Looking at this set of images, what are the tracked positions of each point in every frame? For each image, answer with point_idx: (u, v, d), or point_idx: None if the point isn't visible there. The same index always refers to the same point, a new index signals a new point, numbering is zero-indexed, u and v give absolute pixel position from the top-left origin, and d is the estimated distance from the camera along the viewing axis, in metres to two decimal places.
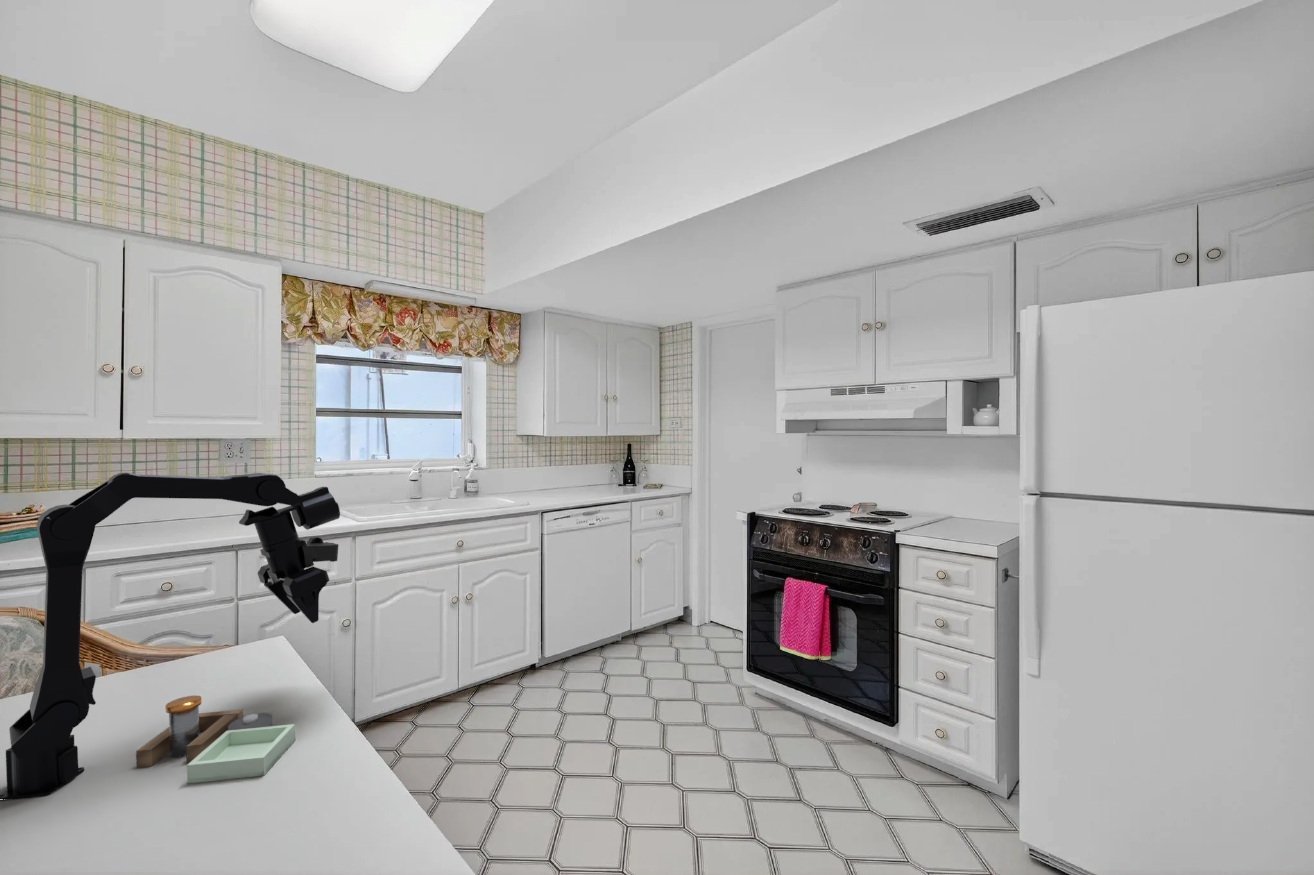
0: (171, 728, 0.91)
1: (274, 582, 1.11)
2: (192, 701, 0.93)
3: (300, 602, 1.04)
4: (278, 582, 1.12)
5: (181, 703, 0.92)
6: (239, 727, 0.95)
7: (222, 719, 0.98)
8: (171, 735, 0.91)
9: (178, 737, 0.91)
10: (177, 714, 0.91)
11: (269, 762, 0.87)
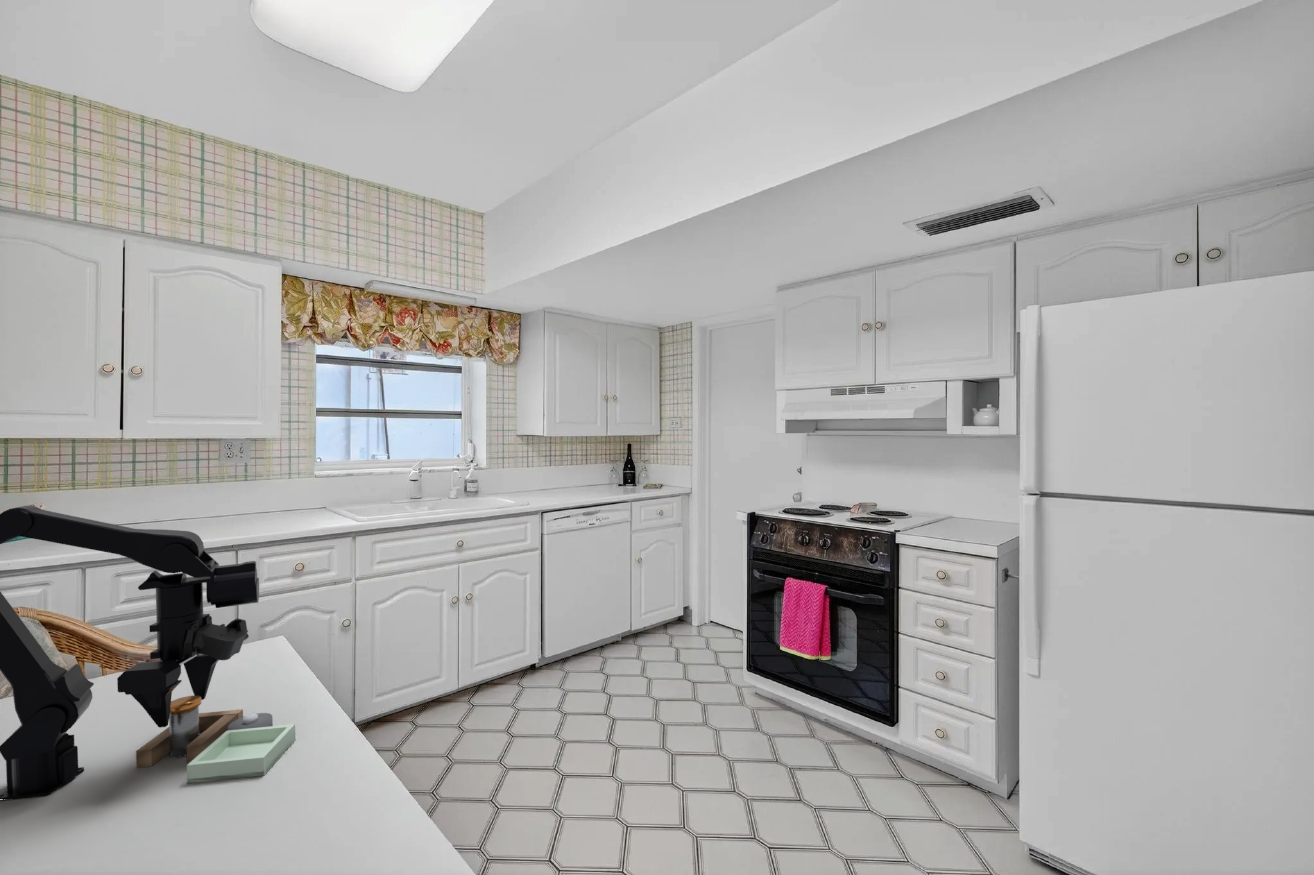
0: (171, 728, 0.91)
1: None
2: (192, 701, 0.93)
3: (142, 698, 0.86)
4: (194, 657, 0.98)
5: (181, 703, 0.92)
6: (239, 727, 0.95)
7: (222, 719, 0.98)
8: (171, 735, 0.91)
9: (178, 737, 0.91)
10: (177, 714, 0.91)
11: (269, 762, 0.87)
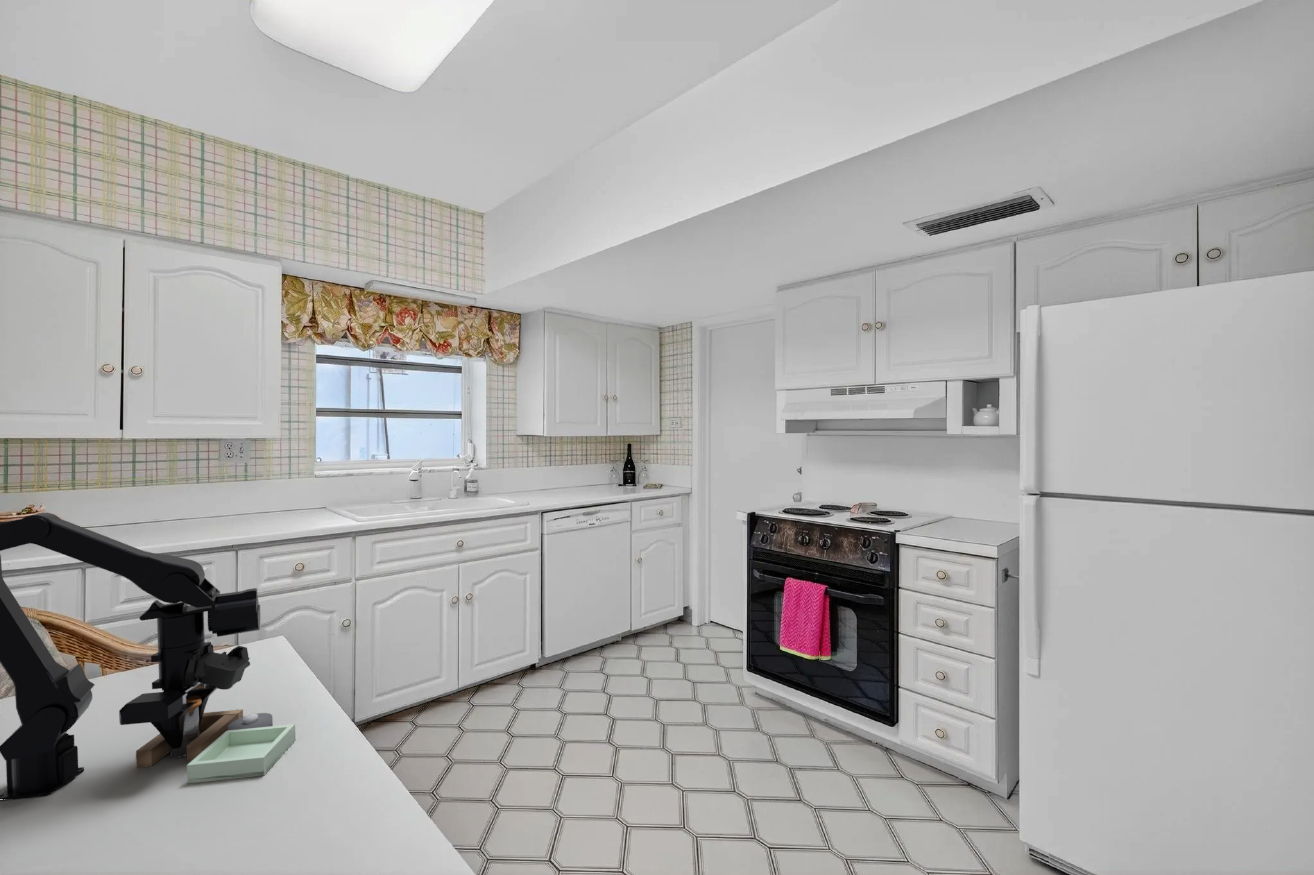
0: None
1: None
2: (192, 701, 0.93)
3: (156, 721, 0.89)
4: None
5: None
6: (239, 727, 0.95)
7: (222, 719, 0.98)
8: None
9: None
10: None
11: (269, 762, 0.87)
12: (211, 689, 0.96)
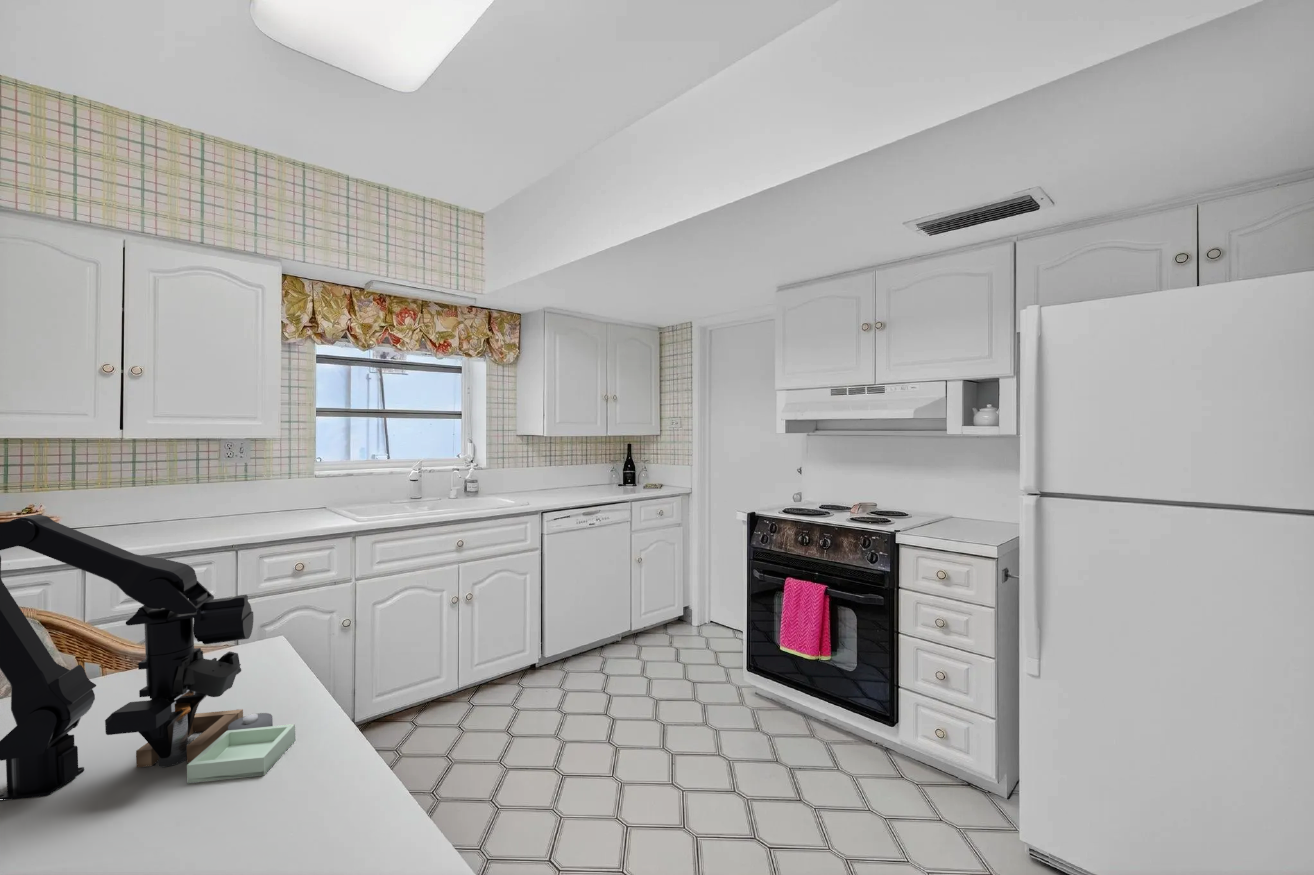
0: None
1: None
2: (180, 708, 0.90)
3: (144, 730, 0.86)
4: None
5: None
6: (239, 727, 0.95)
7: (222, 719, 0.98)
8: None
9: None
10: None
11: (269, 762, 0.87)
12: (201, 696, 0.93)
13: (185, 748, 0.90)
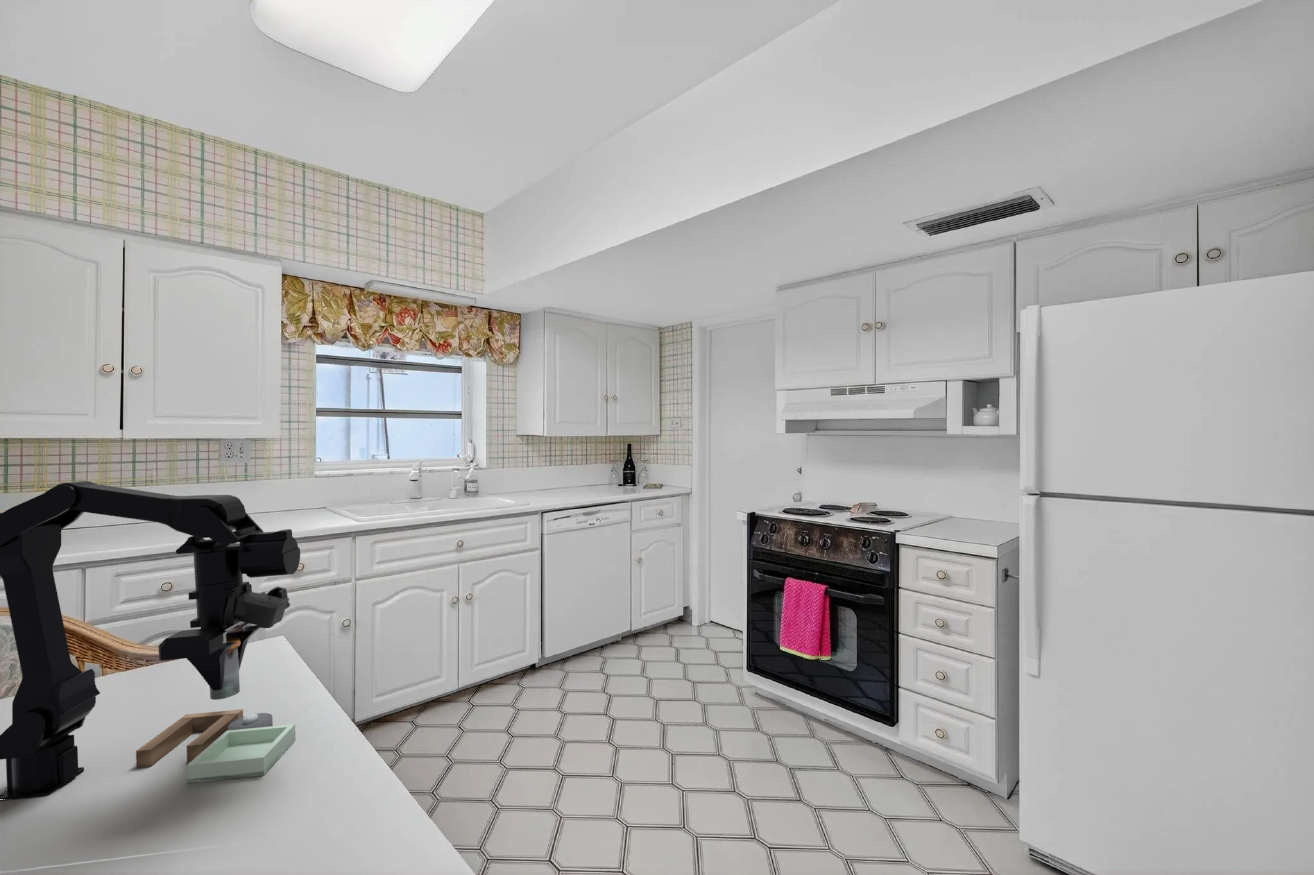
0: None
1: None
2: (230, 641, 0.88)
3: (196, 661, 0.84)
4: None
5: None
6: (239, 727, 0.95)
7: (222, 719, 0.98)
8: None
9: None
10: None
11: (269, 762, 0.87)
12: (250, 631, 0.91)
13: (236, 682, 0.88)
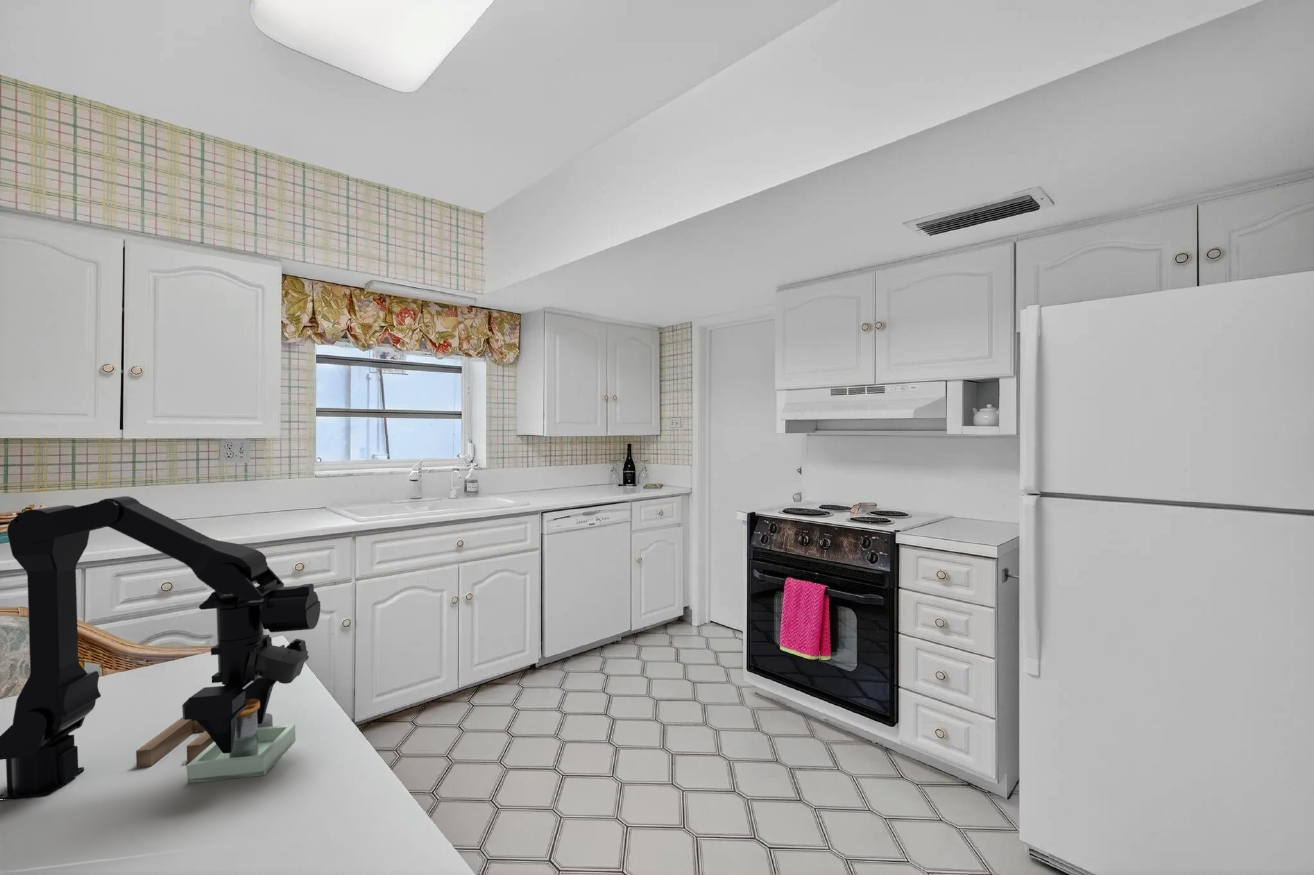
0: None
1: None
2: (250, 704, 0.89)
3: (207, 724, 0.83)
4: None
5: None
6: None
7: None
8: None
9: (237, 742, 0.88)
10: (236, 718, 0.88)
11: (269, 762, 0.87)
12: None
13: (255, 744, 0.89)
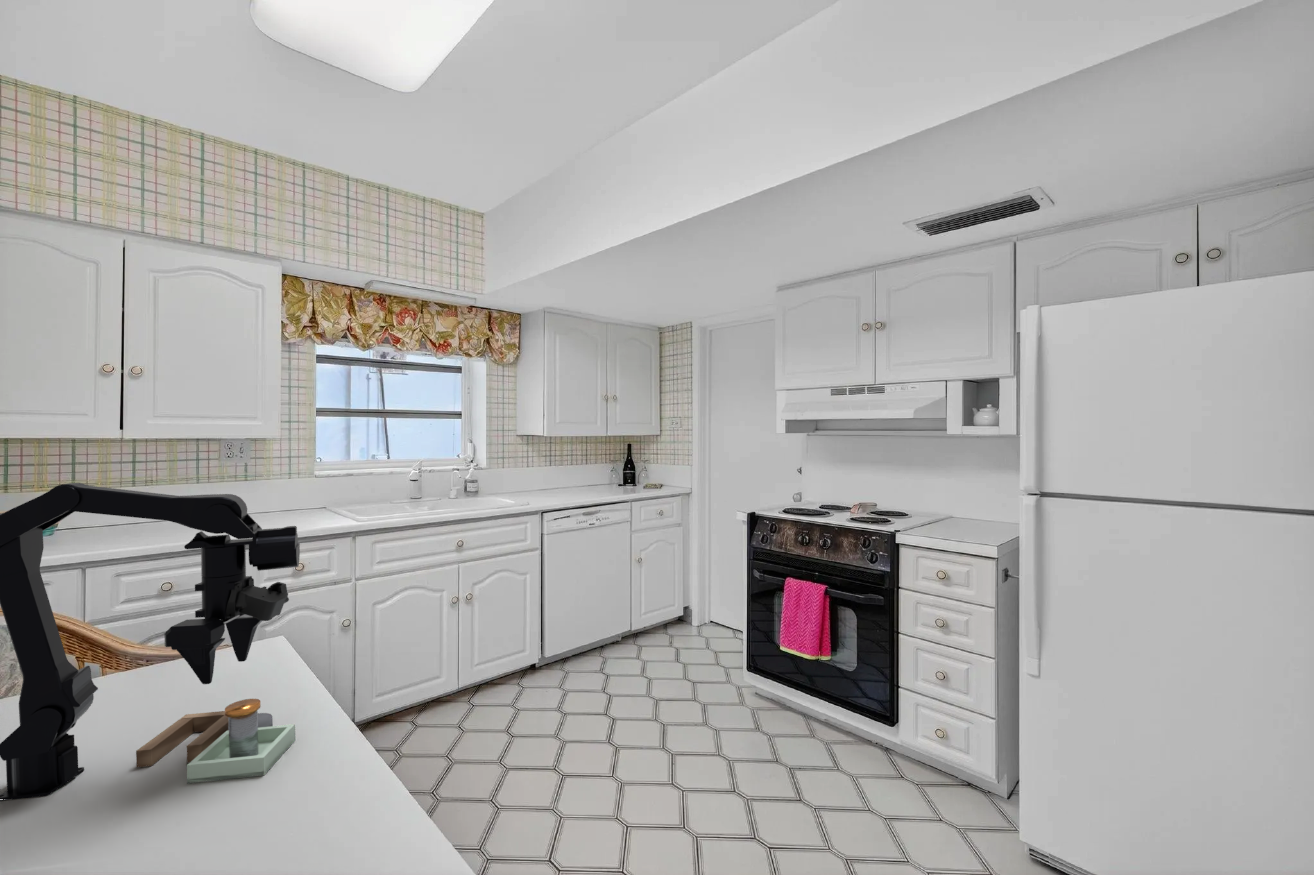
0: (230, 732, 0.88)
1: None
2: (251, 704, 0.89)
3: (187, 655, 0.88)
4: (236, 619, 0.99)
5: (240, 707, 0.89)
6: None
7: (222, 719, 0.98)
8: (230, 740, 0.88)
9: (238, 742, 0.88)
10: (236, 718, 0.88)
11: (269, 762, 0.87)
12: None
13: (256, 744, 0.89)
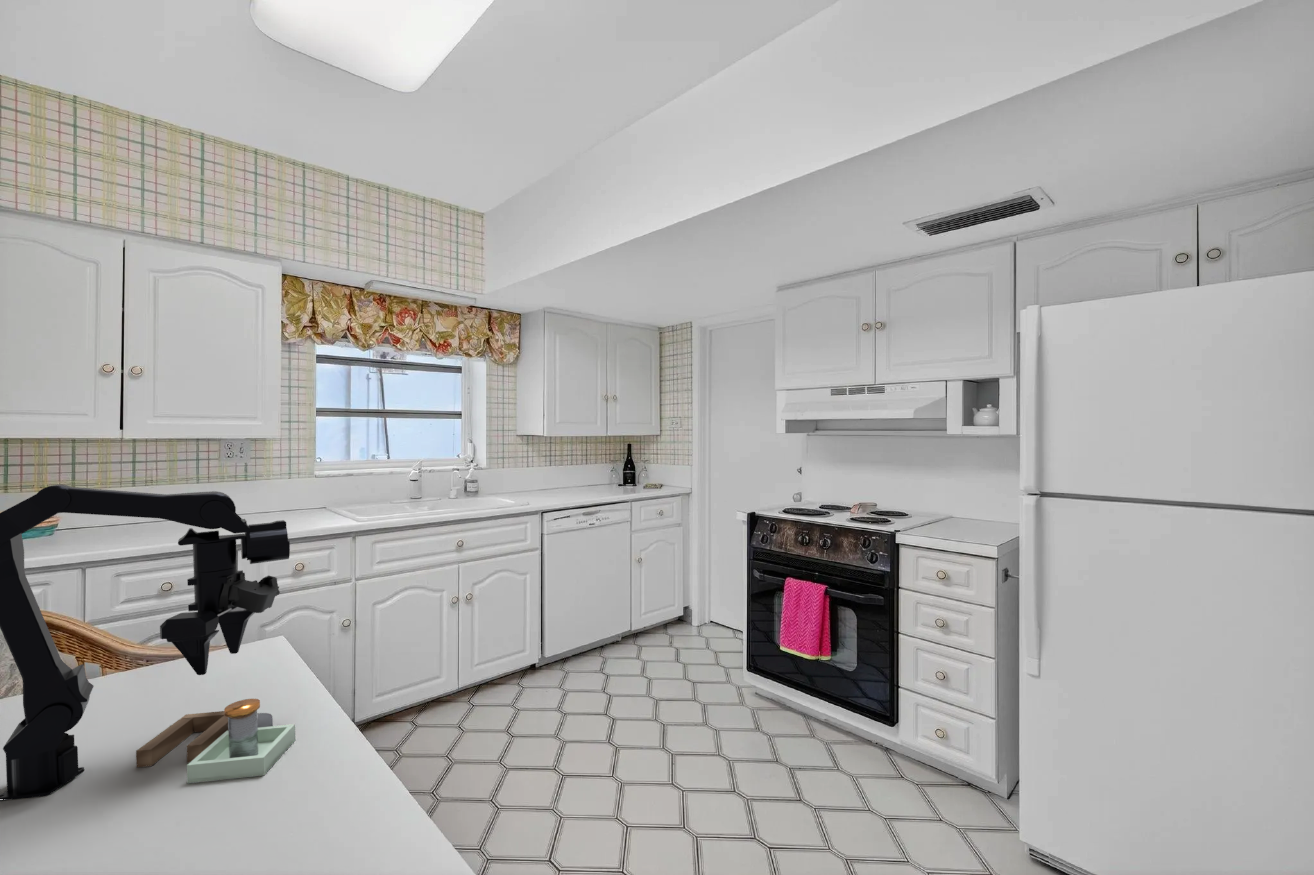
0: (230, 732, 0.88)
1: None
2: (250, 704, 0.89)
3: (182, 647, 0.91)
4: (227, 612, 1.02)
5: (240, 706, 0.89)
6: None
7: (222, 719, 0.98)
8: (230, 740, 0.88)
9: (237, 742, 0.88)
10: (236, 718, 0.88)
11: (269, 762, 0.87)
12: (251, 611, 1.03)
13: (255, 744, 0.89)
